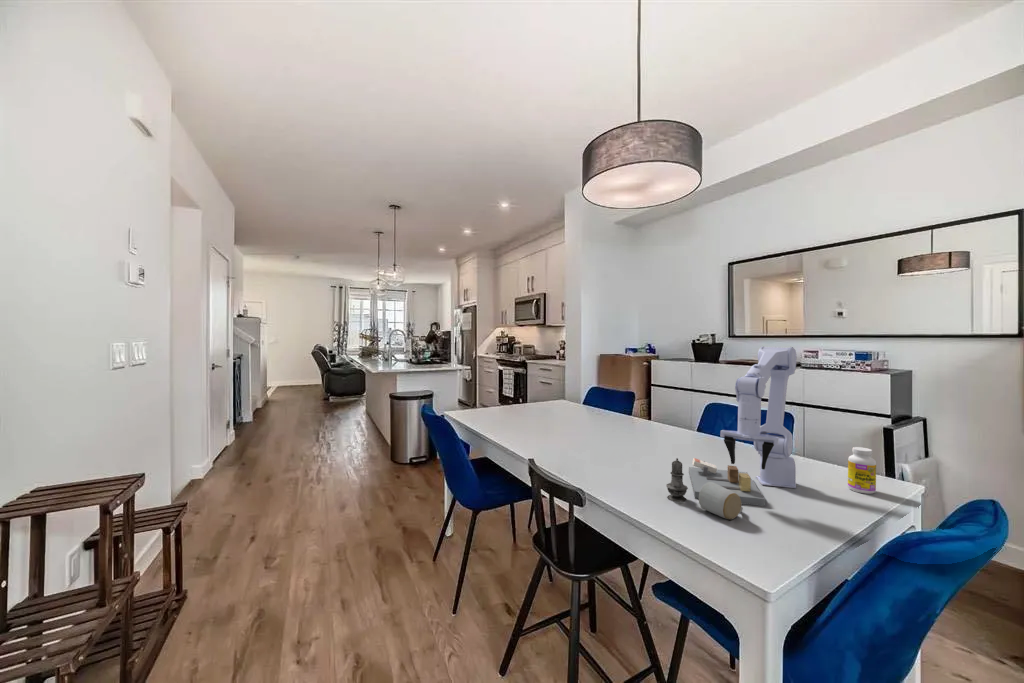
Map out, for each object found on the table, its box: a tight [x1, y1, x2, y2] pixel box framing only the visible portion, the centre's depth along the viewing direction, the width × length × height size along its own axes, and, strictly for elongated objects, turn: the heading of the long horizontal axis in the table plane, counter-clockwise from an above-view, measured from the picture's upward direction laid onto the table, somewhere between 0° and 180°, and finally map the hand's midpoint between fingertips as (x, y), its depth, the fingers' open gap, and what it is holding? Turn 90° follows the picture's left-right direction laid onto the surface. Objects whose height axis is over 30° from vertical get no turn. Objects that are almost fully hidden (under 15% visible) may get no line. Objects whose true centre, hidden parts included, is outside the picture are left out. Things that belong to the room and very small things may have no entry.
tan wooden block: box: [739, 473, 752, 492], centre depth 124 cm, size 2×4×4 cm, turn 161°
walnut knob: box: [727, 465, 739, 483], centre depth 131 cm, size 2×4×4 cm, turn 161°
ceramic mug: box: [698, 482, 744, 520], centre depth 112 cm, size 11×8×8 cm
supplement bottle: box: [847, 446, 877, 495], centre depth 128 cm, size 7×7×13 cm
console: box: [688, 460, 766, 507], centre depth 131 cm, size 18×24×5 cm
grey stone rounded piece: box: [666, 457, 689, 503], centre depth 122 cm, size 6×6×12 cm
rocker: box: [691, 457, 718, 473], centre depth 140 cm, size 7×5×2 cm
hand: (747, 465), depth 121 cm, fingers open, 7 cm apart
